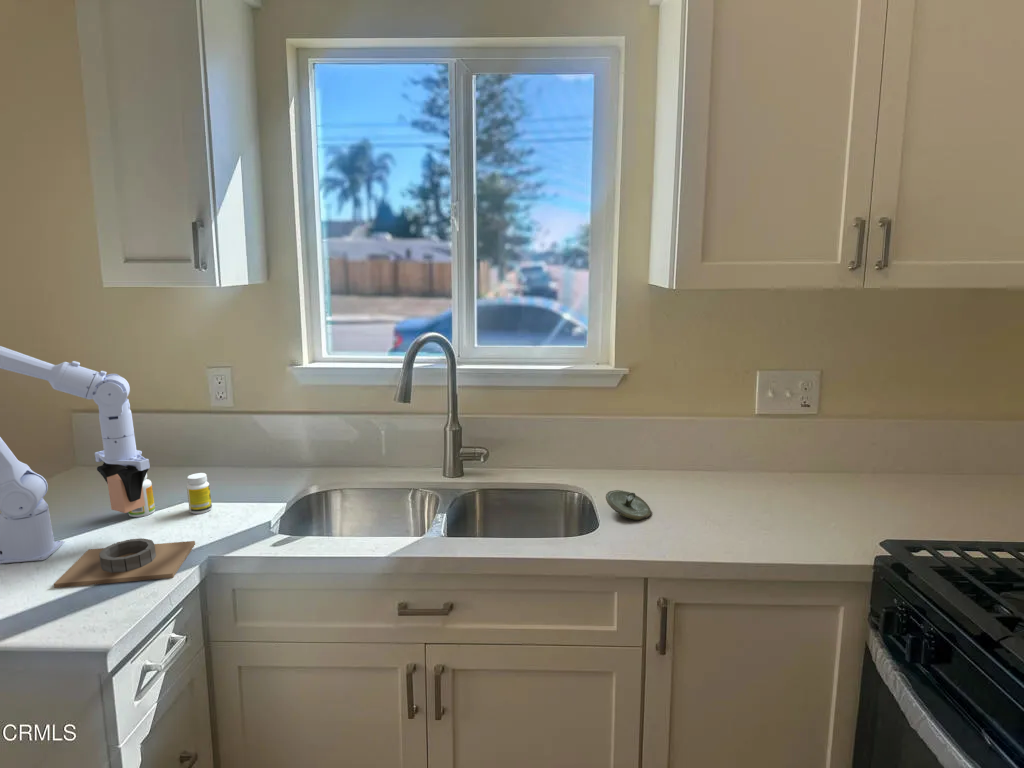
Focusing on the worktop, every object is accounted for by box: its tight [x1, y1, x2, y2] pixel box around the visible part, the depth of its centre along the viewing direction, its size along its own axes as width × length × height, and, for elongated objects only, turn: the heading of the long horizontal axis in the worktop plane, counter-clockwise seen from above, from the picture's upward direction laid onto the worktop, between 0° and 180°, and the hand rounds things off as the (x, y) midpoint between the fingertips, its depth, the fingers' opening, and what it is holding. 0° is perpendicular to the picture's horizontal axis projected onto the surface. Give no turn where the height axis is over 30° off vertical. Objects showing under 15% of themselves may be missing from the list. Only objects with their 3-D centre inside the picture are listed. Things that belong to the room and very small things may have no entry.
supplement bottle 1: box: [127, 472, 156, 518], centre depth 153 cm, size 5×5×10 cm
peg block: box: [106, 474, 145, 514], centre depth 139 cm, size 4×4×7 cm
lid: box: [605, 489, 652, 521], centre depth 149 cm, size 11×10×5 cm
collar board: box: [53, 537, 196, 589], centre depth 128 cm, size 20×14×3 cm
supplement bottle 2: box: [186, 472, 213, 515], centre depth 154 cm, size 5×5×8 cm
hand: (127, 498), depth 139 cm, fingers closed on peg block, 4 cm apart
